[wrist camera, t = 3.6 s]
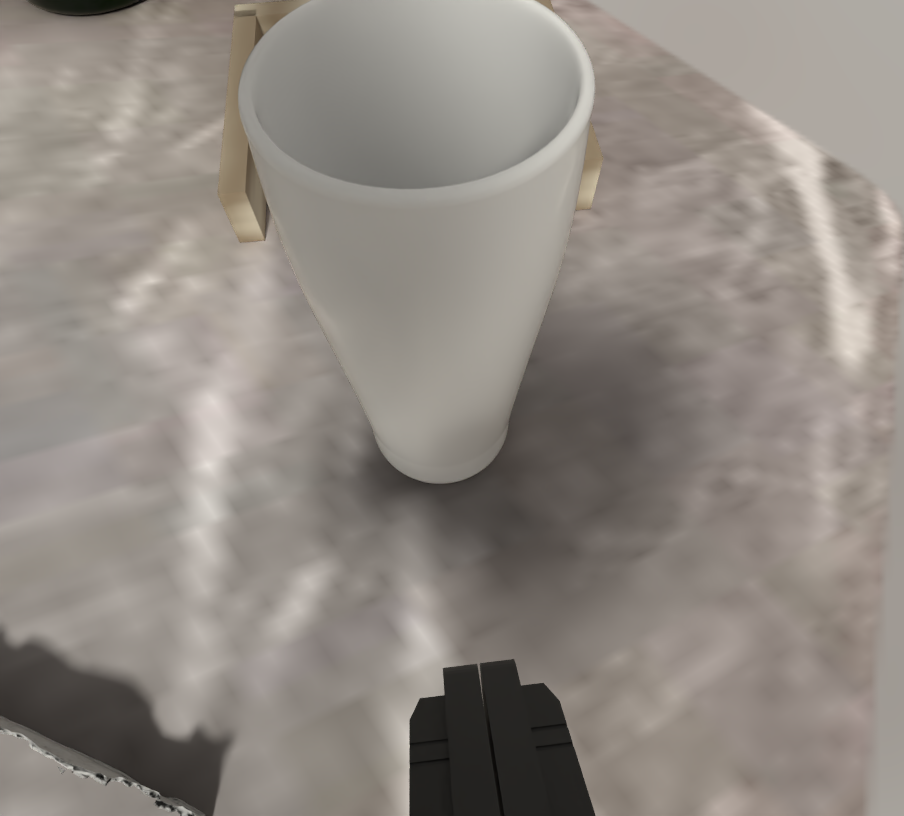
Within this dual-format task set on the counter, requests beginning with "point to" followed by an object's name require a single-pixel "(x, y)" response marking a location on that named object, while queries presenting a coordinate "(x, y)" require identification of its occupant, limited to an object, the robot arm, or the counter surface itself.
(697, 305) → the counter surface
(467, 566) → the counter surface
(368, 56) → the drinking glass
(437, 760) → the robot arm
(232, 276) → the counter surface
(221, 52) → the counter surface
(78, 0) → the beer bottle
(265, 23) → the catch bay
